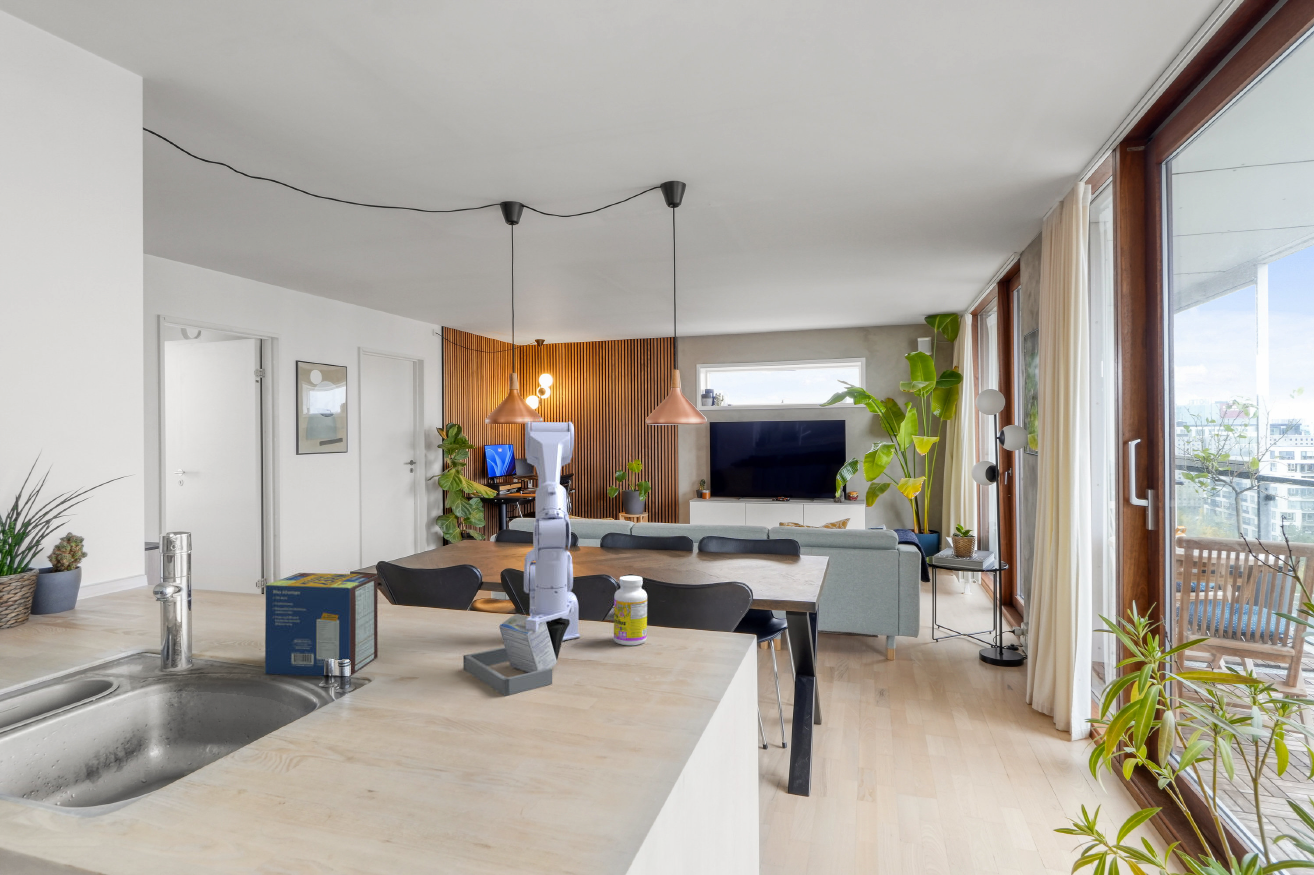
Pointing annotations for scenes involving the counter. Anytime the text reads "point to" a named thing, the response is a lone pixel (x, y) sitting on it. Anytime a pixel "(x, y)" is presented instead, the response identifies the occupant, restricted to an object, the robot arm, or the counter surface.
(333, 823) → the counter surface
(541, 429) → the robot arm
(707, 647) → the counter surface
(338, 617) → the protein box
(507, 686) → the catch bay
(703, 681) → the counter surface
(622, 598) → the supplement bottle
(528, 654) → the medicine box
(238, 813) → the counter surface
